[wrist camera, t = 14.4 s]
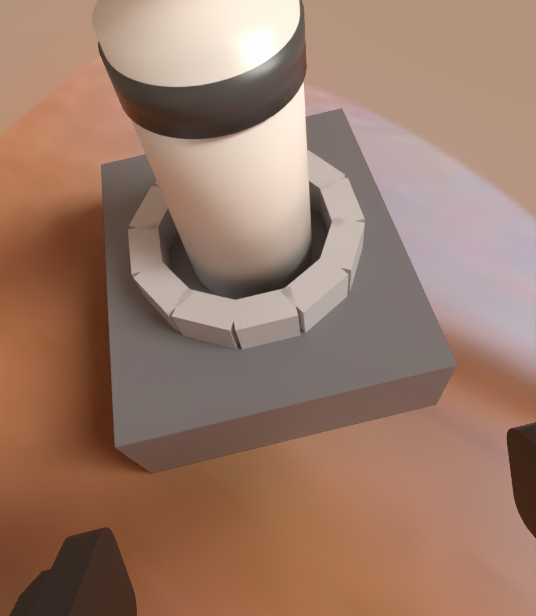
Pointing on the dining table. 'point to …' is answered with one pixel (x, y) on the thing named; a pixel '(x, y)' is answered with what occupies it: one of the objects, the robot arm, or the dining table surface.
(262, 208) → the domed cylinder with band
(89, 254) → the dining table surface
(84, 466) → the dining table surface
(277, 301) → the square base with ring
